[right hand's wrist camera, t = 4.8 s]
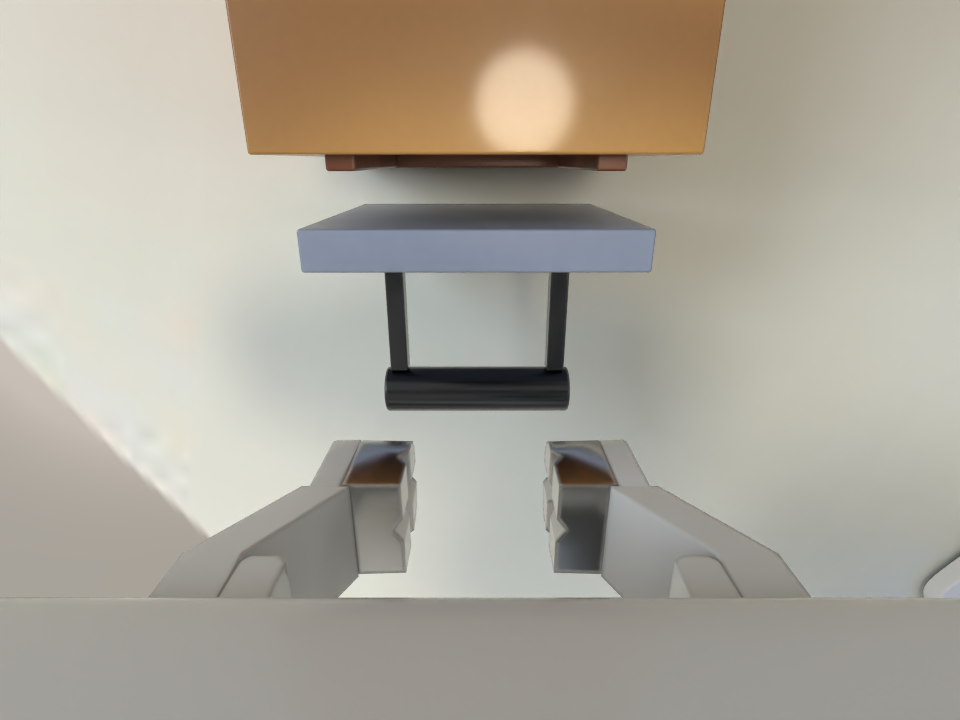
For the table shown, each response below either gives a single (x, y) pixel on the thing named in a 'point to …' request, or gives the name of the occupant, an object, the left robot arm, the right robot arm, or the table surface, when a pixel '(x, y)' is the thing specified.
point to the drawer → (476, 270)
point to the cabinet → (475, 76)
